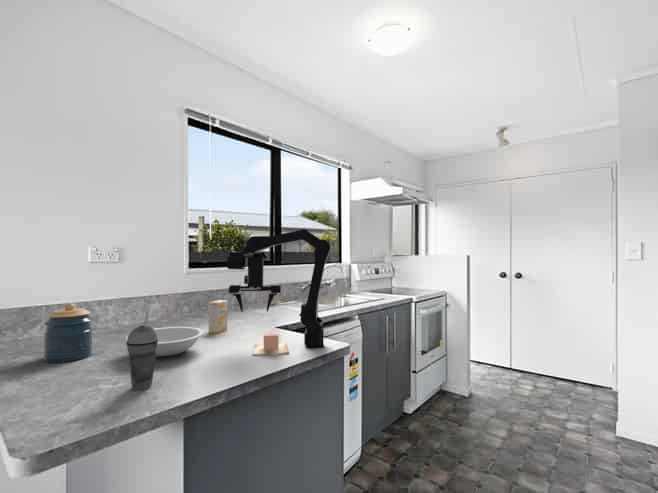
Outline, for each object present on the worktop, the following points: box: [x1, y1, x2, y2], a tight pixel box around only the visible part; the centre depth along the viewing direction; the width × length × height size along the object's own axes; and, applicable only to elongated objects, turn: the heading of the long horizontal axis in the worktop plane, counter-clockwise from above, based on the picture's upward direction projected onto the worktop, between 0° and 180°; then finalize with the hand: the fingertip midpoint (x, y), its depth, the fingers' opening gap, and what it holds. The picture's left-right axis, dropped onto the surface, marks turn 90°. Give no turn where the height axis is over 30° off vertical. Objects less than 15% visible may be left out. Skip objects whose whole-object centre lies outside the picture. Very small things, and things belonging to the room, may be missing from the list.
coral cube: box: [263, 331, 279, 350], centre depth 125 cm, size 5×5×5 cm
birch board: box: [252, 342, 290, 357], centre depth 125 cm, size 12×12×1 cm
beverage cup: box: [125, 308, 158, 391], centre depth 90 cm, size 7×7×20 cm
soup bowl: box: [125, 326, 205, 357], centre depth 119 cm, size 24×24×7 cm
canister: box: [42, 302, 94, 363], centre depth 115 cm, size 13×13×18 cm
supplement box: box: [208, 299, 229, 334], centre depth 153 cm, size 8×5×13 cm, turn 168°
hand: (254, 311), depth 132 cm, fingers open, 9 cm apart
